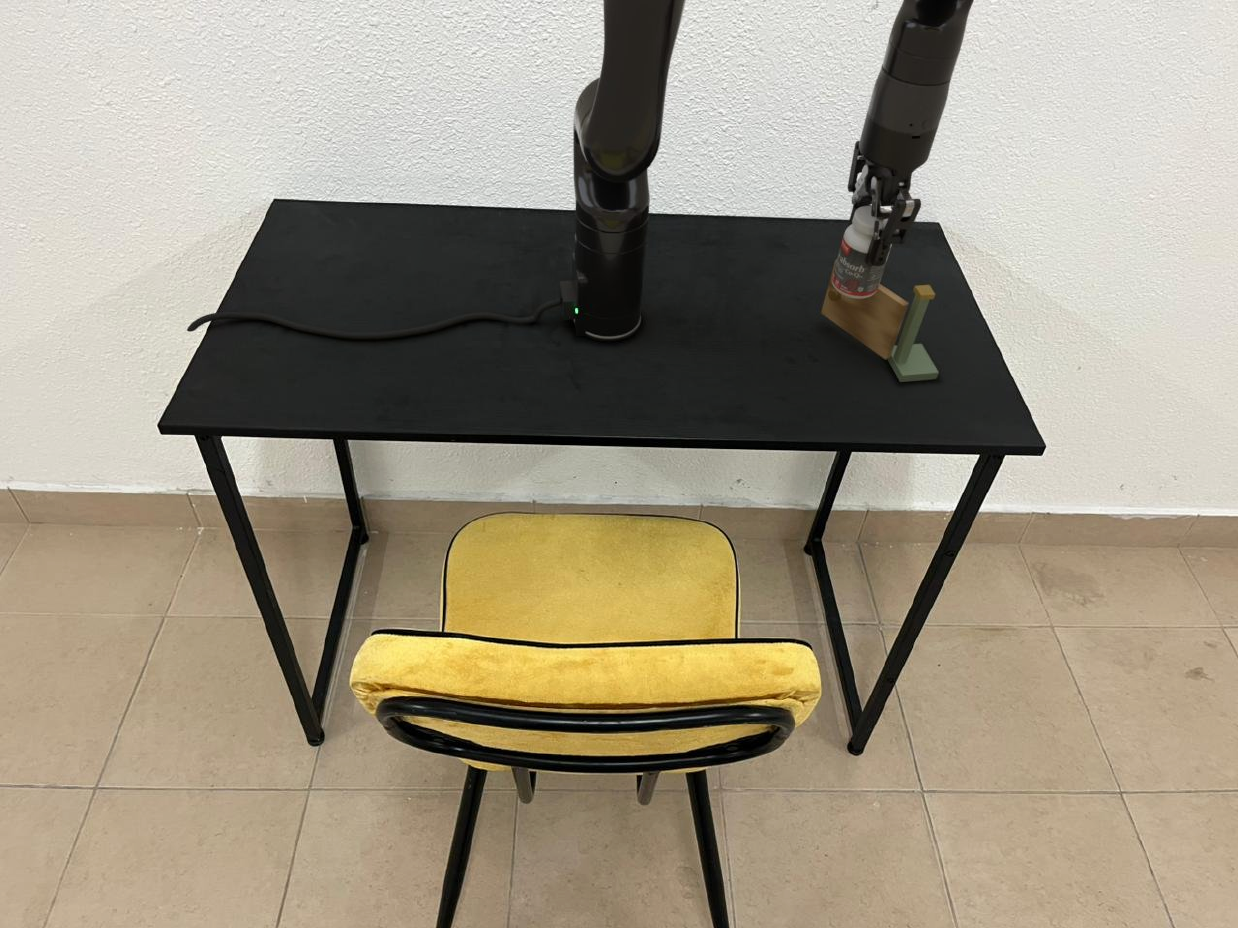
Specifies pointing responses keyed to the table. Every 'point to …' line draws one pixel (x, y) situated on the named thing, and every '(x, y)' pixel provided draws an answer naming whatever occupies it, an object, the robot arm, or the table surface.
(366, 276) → the table surface
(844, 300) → the door
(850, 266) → the pill bottle
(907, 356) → the door frame
